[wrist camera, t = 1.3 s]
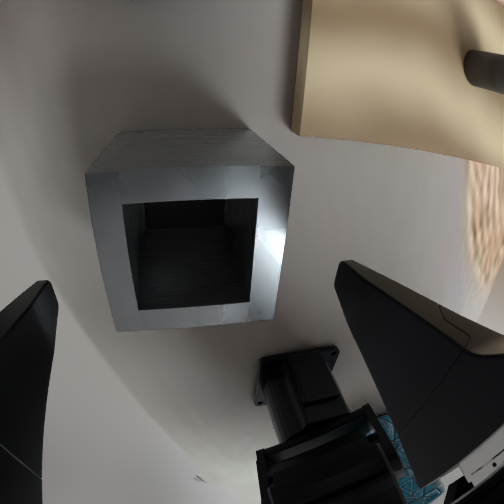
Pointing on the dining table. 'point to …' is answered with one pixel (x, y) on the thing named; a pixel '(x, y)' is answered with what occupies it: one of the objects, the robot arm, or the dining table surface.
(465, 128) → the board
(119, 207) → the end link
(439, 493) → the lamp
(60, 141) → the dining table surface
